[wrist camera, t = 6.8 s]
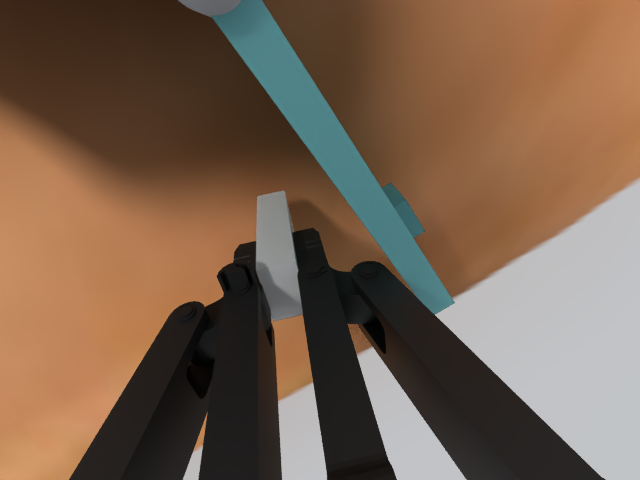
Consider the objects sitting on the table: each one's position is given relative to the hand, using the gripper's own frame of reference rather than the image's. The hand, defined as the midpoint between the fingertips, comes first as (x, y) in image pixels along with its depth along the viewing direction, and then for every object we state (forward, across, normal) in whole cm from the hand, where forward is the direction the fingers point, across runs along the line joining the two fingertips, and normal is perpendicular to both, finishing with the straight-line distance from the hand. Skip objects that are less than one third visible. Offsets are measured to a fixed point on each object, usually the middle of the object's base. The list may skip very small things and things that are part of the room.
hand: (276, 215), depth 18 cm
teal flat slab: (+1, +3, +5) cm, 6 cm away
